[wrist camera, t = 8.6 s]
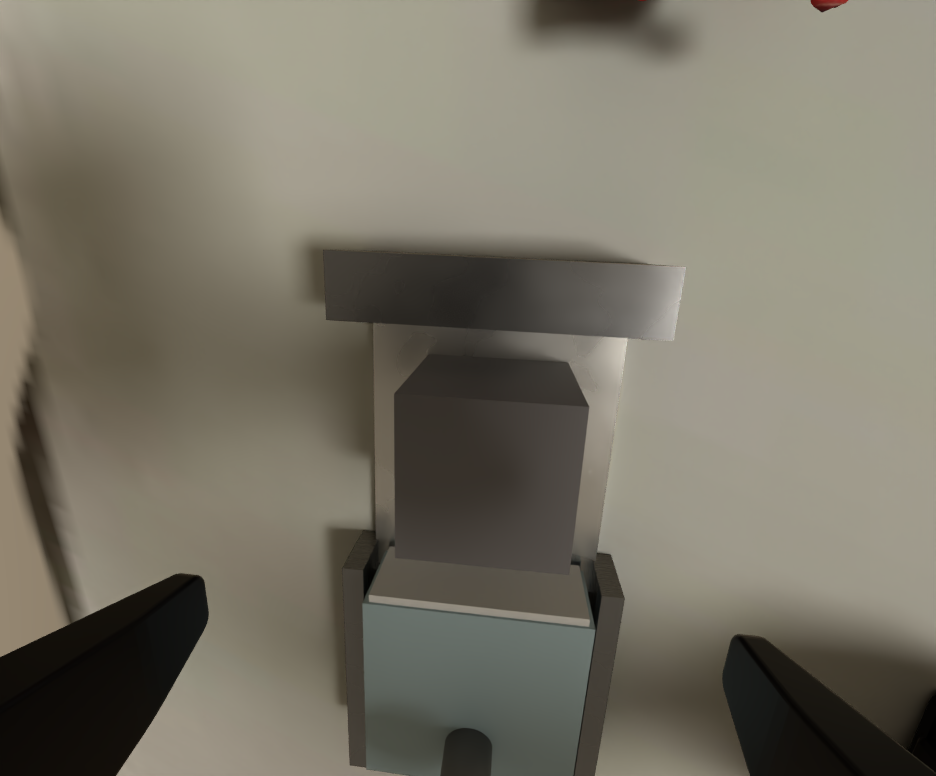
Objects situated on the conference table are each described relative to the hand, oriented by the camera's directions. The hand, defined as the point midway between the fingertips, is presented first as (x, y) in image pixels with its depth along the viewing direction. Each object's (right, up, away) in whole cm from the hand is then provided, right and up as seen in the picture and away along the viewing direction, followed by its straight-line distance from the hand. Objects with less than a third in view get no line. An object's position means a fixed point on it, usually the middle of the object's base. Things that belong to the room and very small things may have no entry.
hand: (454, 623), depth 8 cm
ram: (+1, -7, +12) cm, 14 cm away
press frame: (+1, -2, +11) cm, 12 cm away
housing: (+1, +3, +9) cm, 10 cm away
